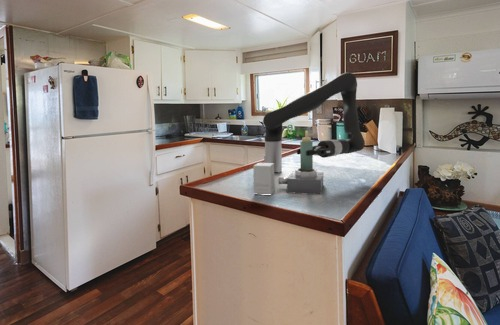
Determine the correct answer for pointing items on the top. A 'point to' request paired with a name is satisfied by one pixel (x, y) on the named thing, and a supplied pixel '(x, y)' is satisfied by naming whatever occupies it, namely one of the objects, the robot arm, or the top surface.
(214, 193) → the top surface
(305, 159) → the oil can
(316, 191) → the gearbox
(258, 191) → the supplement box
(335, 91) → the robot arm
